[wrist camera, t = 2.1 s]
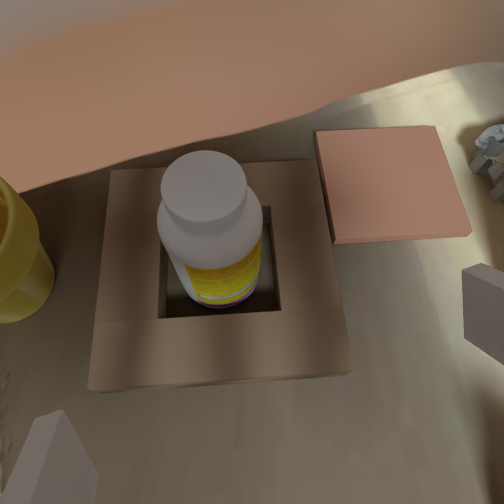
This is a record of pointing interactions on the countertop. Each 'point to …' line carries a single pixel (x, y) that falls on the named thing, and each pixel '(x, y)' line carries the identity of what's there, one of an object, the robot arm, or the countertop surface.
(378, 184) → the mat
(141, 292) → the pocket board
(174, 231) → the supplement bottle
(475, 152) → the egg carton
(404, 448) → the countertop surface
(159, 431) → the countertop surface
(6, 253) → the plant pot
